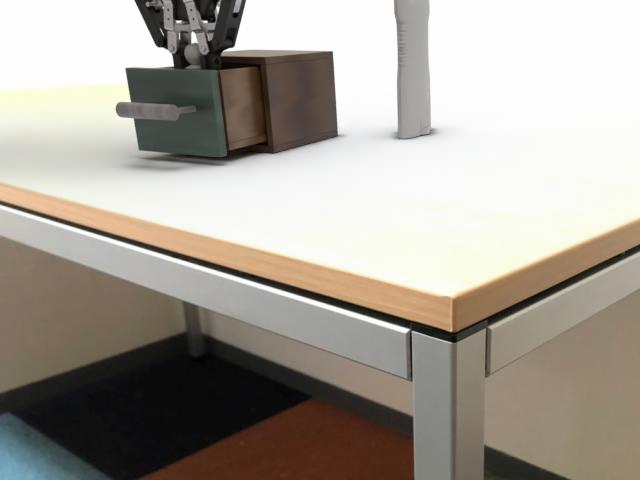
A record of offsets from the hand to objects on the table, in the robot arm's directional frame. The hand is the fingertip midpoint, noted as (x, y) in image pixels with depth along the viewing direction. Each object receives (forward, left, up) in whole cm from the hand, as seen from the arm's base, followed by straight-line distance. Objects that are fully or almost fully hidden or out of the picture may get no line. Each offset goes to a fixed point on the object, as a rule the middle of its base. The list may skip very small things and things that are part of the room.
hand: (200, 89), depth 84 cm
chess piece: (0, 0, -3) cm, 3 cm away
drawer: (0, 0, -6) cm, 6 cm away
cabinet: (0, +11, -7) cm, 13 cm away
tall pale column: (+15, +24, -7) cm, 29 cm away
